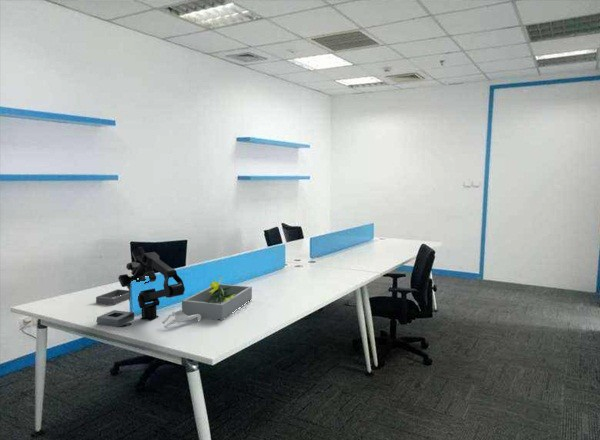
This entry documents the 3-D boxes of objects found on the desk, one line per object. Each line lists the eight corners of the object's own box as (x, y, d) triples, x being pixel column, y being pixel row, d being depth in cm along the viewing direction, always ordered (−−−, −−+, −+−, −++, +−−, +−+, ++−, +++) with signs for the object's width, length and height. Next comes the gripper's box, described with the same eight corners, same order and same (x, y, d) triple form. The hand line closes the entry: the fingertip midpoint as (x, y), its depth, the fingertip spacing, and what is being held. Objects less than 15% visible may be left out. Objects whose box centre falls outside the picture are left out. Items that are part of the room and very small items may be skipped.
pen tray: (134, 296, 255) (134, 291, 255) (114, 305, 238) (113, 298, 237) (117, 294, 258) (117, 289, 258) (96, 303, 241) (96, 296, 241)
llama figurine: (170, 339, 205) (202, 319, 214) (161, 320, 201) (194, 300, 211) (169, 338, 206) (201, 318, 216) (160, 319, 203) (193, 299, 212)
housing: (134, 319, 214) (134, 312, 214) (118, 327, 203) (117, 319, 203) (114, 316, 218) (114, 310, 217) (97, 324, 206) (96, 317, 206)
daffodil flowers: (235, 300, 254) (242, 301, 220) (213, 312, 250) (216, 315, 216) (223, 275, 255) (227, 272, 221) (200, 286, 250) (201, 285, 217)
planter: (251, 300, 252) (251, 286, 252) (222, 320, 215) (222, 305, 214) (216, 296, 258) (216, 283, 258) (181, 315, 221) (181, 300, 220)
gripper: (153, 255, 228) (143, 272, 236) (119, 259, 214) (109, 277, 222) (161, 271, 224) (150, 288, 232) (127, 277, 210) (117, 295, 218)
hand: (132, 287), depth 226 cm, fingers closed on end plug, 5 cm apart
